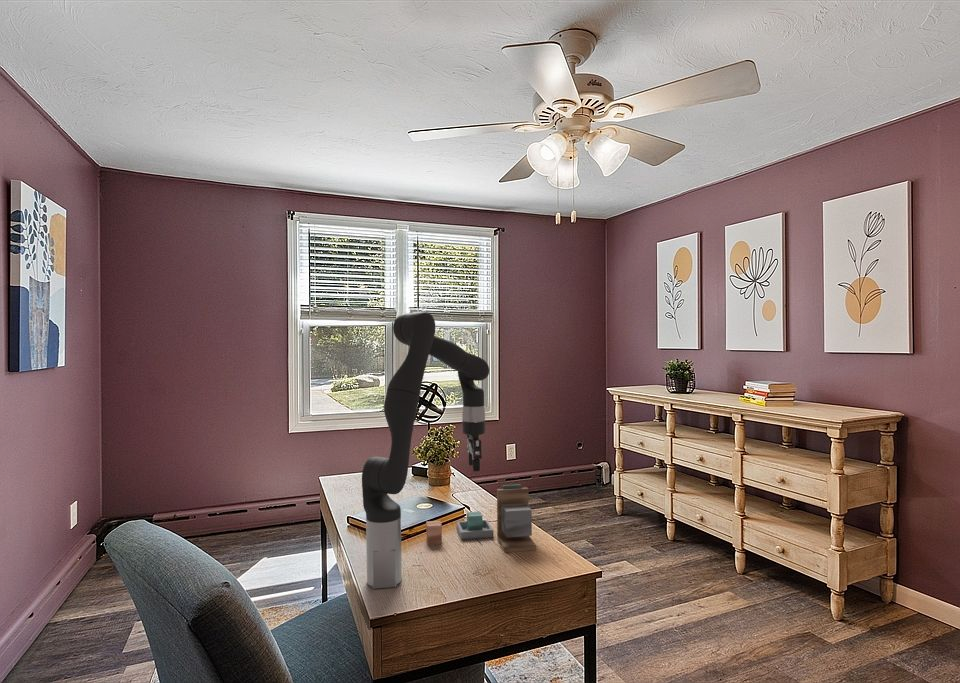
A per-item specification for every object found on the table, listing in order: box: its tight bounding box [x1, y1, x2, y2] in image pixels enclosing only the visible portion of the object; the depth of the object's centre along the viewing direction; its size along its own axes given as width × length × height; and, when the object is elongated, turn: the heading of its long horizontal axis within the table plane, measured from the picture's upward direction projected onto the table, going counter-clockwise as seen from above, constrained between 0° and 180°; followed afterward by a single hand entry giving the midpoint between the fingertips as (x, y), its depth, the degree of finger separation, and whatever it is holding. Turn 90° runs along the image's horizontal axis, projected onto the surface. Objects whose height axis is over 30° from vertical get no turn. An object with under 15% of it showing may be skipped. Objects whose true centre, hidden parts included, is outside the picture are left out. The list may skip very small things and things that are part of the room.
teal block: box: [466, 511, 484, 531], centre depth 189 cm, size 4×4×6 cm
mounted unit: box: [496, 483, 537, 553], centre depth 178 cm, size 10×10×18 cm
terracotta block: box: [425, 520, 443, 546], centre depth 182 cm, size 4×4×6 cm
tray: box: [456, 519, 494, 541], centre depth 189 cm, size 11×11×2 cm
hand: (474, 468), depth 189 cm, fingers open, 8 cm apart
